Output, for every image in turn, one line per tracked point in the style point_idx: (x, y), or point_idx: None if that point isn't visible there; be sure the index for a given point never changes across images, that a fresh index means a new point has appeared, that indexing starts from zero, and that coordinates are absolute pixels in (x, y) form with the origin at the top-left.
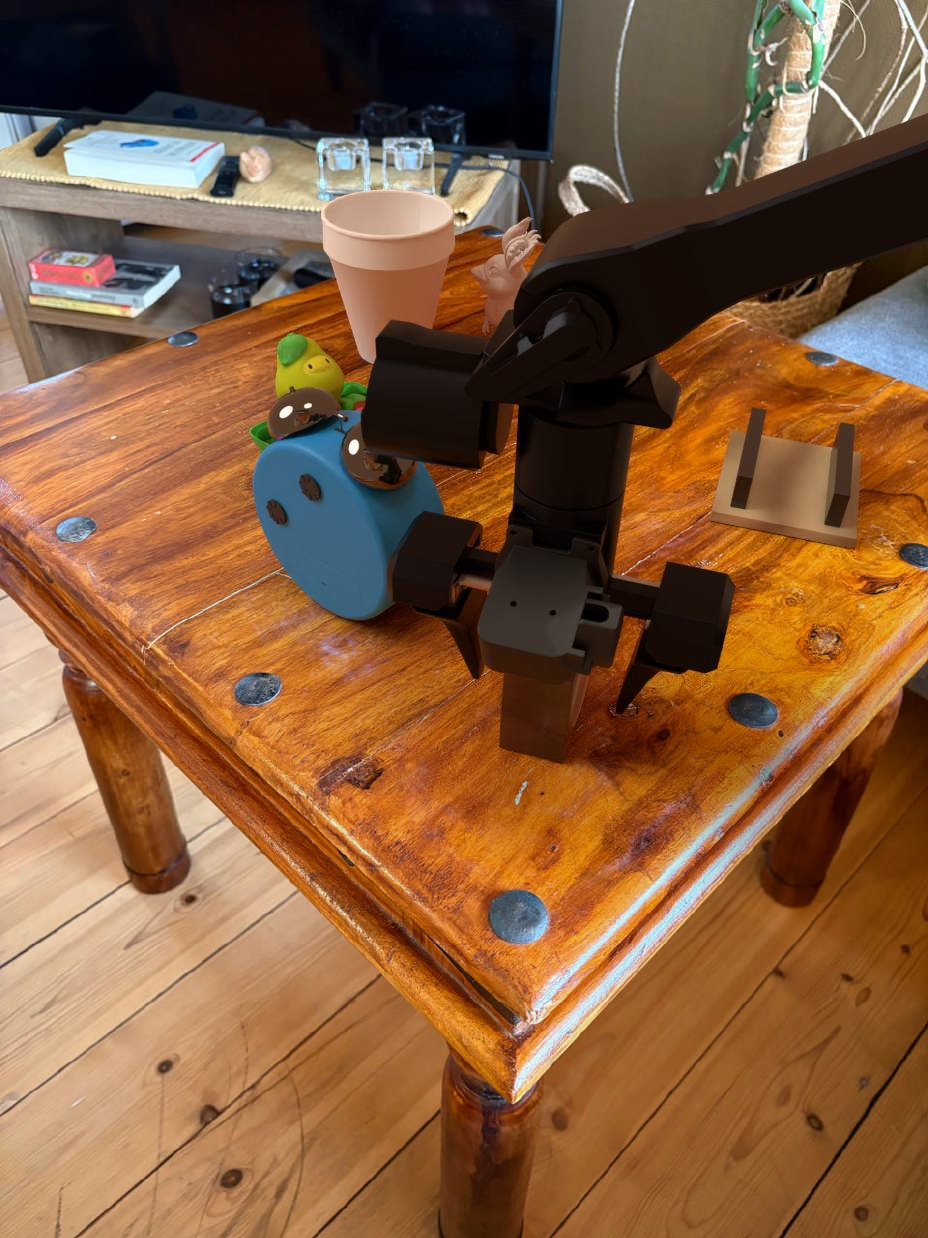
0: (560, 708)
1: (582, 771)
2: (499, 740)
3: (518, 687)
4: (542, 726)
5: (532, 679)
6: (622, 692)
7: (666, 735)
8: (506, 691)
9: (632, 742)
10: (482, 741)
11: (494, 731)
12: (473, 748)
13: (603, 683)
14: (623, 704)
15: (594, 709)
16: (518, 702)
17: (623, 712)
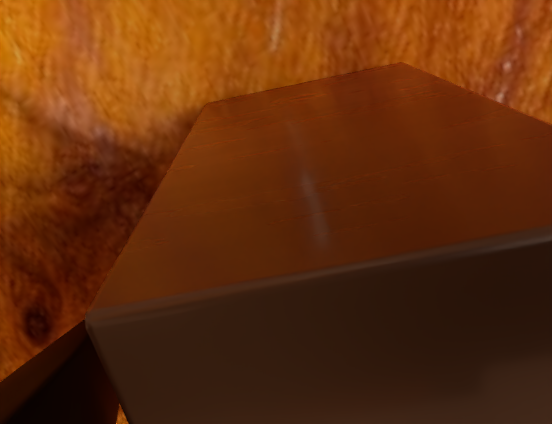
0: (197, 177)
1: (141, 110)
2: (412, 66)
3: (471, 154)
4: (279, 122)
5: (413, 216)
6: (24, 395)
7: (29, 327)
8: (518, 126)
9: (85, 269)
10: (460, 59)
11: None
12: (477, 17)
13: None
14: (54, 351)
15: None
16: (420, 123)
17: (74, 327)
